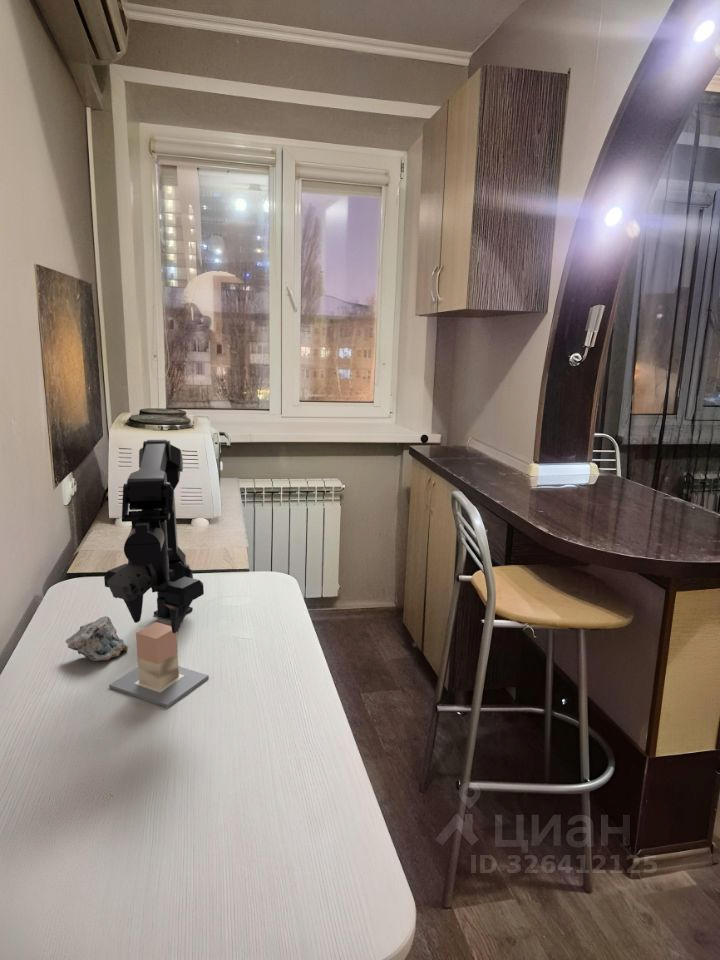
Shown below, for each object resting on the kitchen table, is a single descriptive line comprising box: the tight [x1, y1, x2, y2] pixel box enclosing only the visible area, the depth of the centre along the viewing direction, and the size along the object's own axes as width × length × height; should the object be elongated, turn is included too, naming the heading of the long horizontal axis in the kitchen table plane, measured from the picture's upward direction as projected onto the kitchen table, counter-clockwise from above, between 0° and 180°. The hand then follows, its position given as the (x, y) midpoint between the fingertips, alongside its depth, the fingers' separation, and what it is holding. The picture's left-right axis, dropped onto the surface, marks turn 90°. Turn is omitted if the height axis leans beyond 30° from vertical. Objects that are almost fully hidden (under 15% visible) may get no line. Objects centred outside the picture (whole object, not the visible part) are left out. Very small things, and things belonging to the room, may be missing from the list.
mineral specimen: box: [65, 615, 129, 662], centre depth 128 cm, size 10×8×10 cm
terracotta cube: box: [135, 621, 179, 664], centre depth 116 cm, size 5×5×5 cm
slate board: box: [108, 665, 209, 709], centre depth 118 cm, size 11×14×1 cm
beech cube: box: [137, 652, 179, 689], centre depth 117 cm, size 5×5×5 cm
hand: (156, 627), depth 115 cm, fingers open, 9 cm apart
